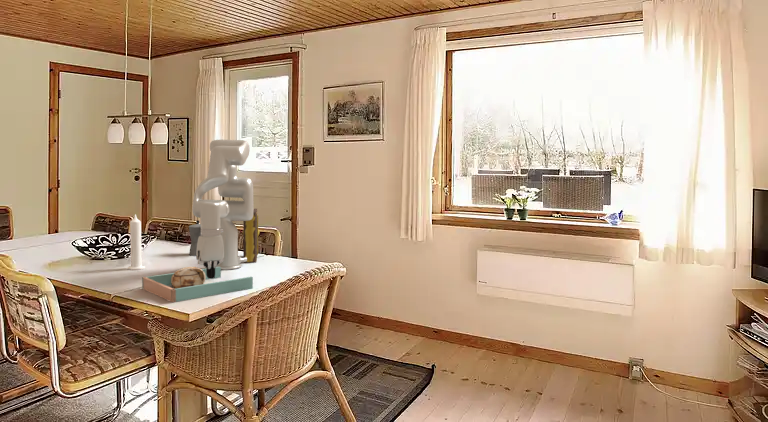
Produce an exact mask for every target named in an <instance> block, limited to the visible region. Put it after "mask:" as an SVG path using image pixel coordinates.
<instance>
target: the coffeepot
mask: <svg viewBox="0 0 768 422" xmlns="http://www.w3.org/2000/svg"><path fill="white" fill-rule="evenodd" d="M188 230H189V236H190V240H191V241H190V246H189V252H188V253H189V254H188V255H189V256H191V255H192V256H193V257H194V256H195V257H196V252H197V242H198V238H199V236H201V223H200V220H196V224H195V223H194V224H192V225H189V226H188Z"/></svg>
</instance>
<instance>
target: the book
mask: <svg viewBox="0 0 768 422" xmlns="http://www.w3.org/2000/svg"><path fill="white" fill-rule="evenodd" d="M242 222H243V227H242V228H243V229H242V235H243V238H242V239H243V248H242V249H243V250H242V251H243V255H242V256H243V257H242V258H245V257H246V258H247V261H245V262H243V263H244V264H255V263H257V261H258V255H259V236H260V230H259V214H258V208H254V211H253V218H252V219H251V220H249V221H242Z"/></svg>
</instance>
